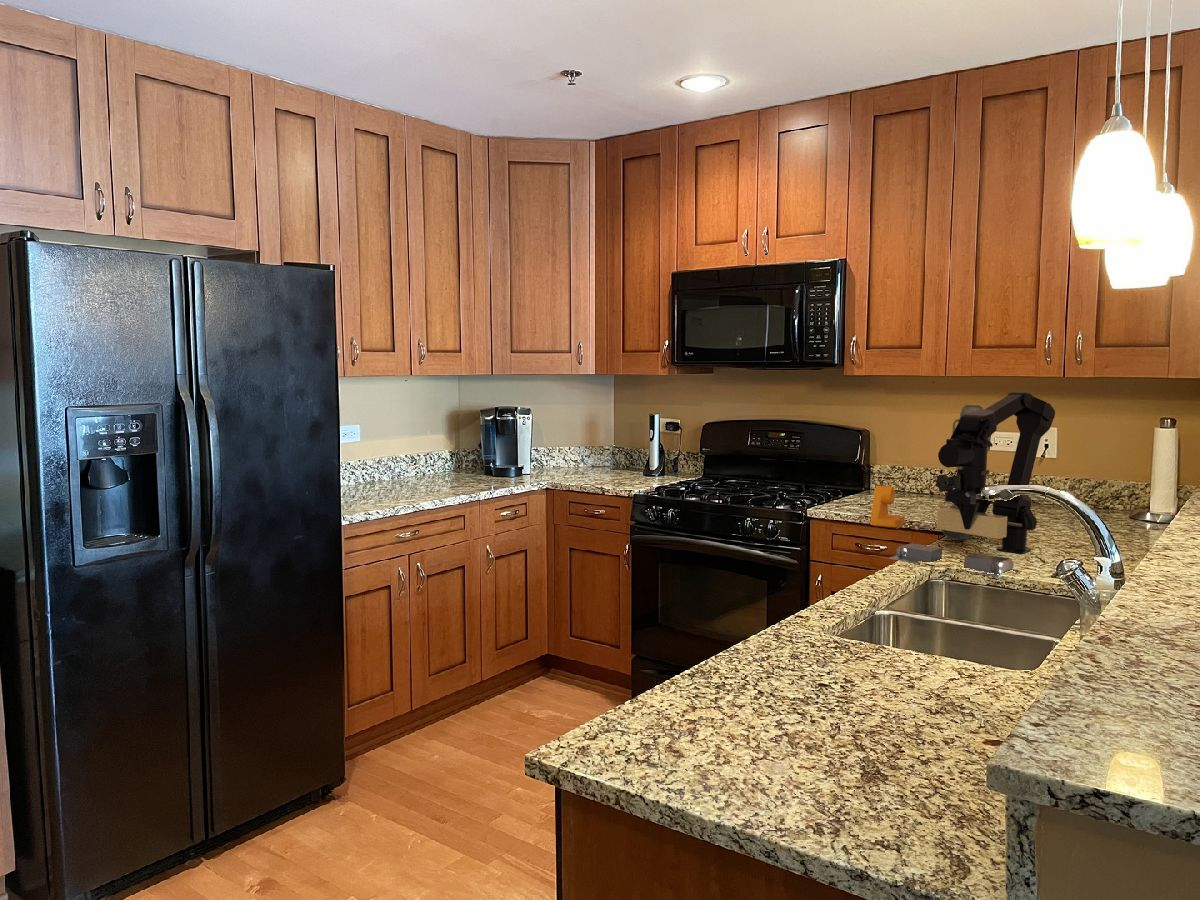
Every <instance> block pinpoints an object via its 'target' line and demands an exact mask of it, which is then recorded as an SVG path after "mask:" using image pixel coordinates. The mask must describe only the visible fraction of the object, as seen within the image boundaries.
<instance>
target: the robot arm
mask: <svg viewBox="0 0 1200 900" xmlns="http://www.w3.org/2000/svg"><path fill="white" fill-rule="evenodd" d="M1012 416H1015V417H1016V422H1015V423H1016V426H1017V428H1018V430H1019V436H1018V441H1017V445H1016V448H1015V453H1014V456H1013V460H1012V464H1011V468H1010V473H1009V476H1008V480H1007V483H1006V486H1007V485H1030V482H1031V478H1032V473H1033V470H1034V465H1035V462H1036V459H1037V453H1038V450H1039V446H1040V443H1041V439H1042V437H1043V436H1044V435H1045V434H1047V432H1048V431H1049V430H1050V429H1051V426H1052V424H1053V422H1054V420H1055V416H1056V411H1055V409H1054V407H1053V406H1052V405H1051V403H1050V402H1047V401H1046V400H1042V399H1040V398H1037V397H1036V396H1033V394H1031V393H1029V392H1026V391H1012V392H1009V393H1007V395H1006V396H1004V397H1003V398H1001V399H1000V400H999V401H996V402H994V403H993V404H991V405H989V406H988V407H986V408H984V409H983V410H982V411H976V412H971V413H967V414H964V415H963V416H962V417H961V418H960V417H959V419H960V421H959V422H957V424H956V425H955V430H954V432H953V431H952V433H953V434H952V435H951V436H950V438H946V441H945V442H946V443H945V444H944V445H942V446H941V447H940V449H939V451H938V453H937V454H938V455H937V457H938V461H939V463H940V464H941V465H942V466H943V467H945V468H957V467H961V469H958V470H957V469H956V474H955V475H953V476H948V475H947V474H945V473H944V474H940V475H937V476H936V480H935V484H934V486H935V487H936V488H938V490H939V493H943V492H944V502H949V503H952V505H953V504H955V505H956V506H957V507H958V508H959V510H960V513H961V517H962V521H963V525H964V528H965V529H967V530H969V529H970V527H971V525H972V522H973V520H974V517H975V515H976V512H980V513H986V512H987V510H988V509H989V507H990V505H991V503H992V502H993V503H992V514H994V515H1001V516H1007V534H1006V537H1004V538H1001V542H1002V543H1001V546H998V547H996V551H999V552H1000V551H1001V552H1007V553H1014V554H1022V555H1023V554H1026V553H1029V552H1031V551H1032V548H1028V547H1027V539H1028V538H1027V536H1028V531H1034V530H1035V529H1036V527H1037V524H1038V520H1037V518H1036V517H1035V515H1034V513H1033V512H1032V510H1031V507H1032V501H1031V497H1030V495H1029V494H1028V495H1020V496H1017V497H1014V498H1013V499H1011V500H1007V501H1004V500H996V501H995V500H993V501H988V500H985V499H983V498H982V496H981V490H982V489H983V488H984V487H987V486H996V485H994V484H993V485H992V484H987V475H990V469H987V468H988V467H987V465H988V452H987V449H988V447H990V448H992V447H993V446H994V445H993V443H992V442H991V441H989V440H988V438H989V437H990V436H991V437H992V436H993V434H994V433H995V432H996V431H997V430H998V426H999V424H1000V423H1003V422H1004V421H1006V420H1008V419H1009V418H1010V417H1012Z"/></svg>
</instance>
